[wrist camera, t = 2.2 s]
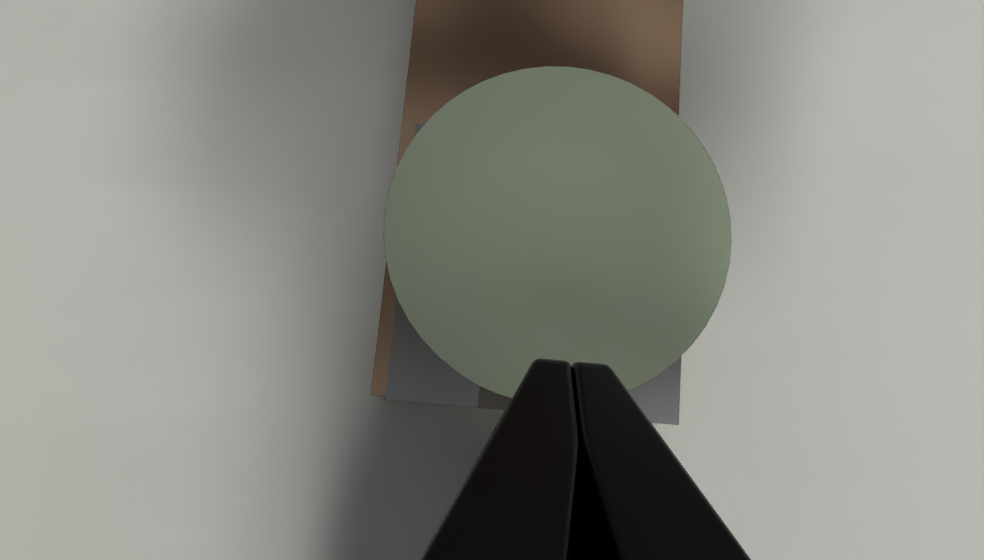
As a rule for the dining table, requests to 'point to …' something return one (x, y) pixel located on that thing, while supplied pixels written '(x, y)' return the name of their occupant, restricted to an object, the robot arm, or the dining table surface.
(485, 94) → the sage button
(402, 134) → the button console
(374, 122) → the dining table surface
